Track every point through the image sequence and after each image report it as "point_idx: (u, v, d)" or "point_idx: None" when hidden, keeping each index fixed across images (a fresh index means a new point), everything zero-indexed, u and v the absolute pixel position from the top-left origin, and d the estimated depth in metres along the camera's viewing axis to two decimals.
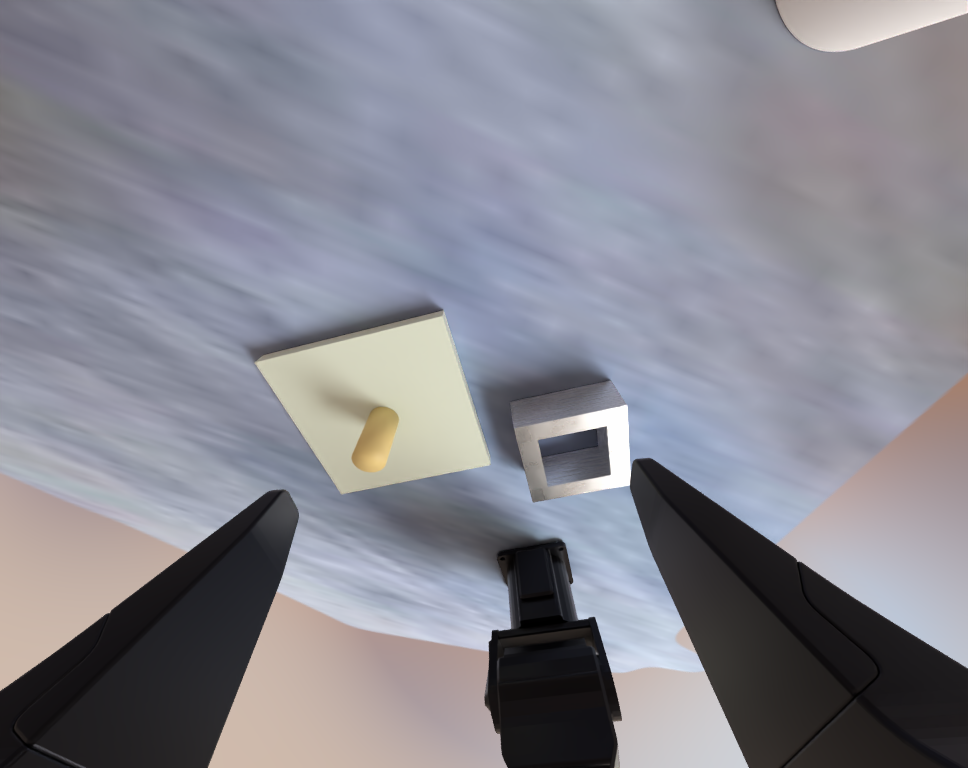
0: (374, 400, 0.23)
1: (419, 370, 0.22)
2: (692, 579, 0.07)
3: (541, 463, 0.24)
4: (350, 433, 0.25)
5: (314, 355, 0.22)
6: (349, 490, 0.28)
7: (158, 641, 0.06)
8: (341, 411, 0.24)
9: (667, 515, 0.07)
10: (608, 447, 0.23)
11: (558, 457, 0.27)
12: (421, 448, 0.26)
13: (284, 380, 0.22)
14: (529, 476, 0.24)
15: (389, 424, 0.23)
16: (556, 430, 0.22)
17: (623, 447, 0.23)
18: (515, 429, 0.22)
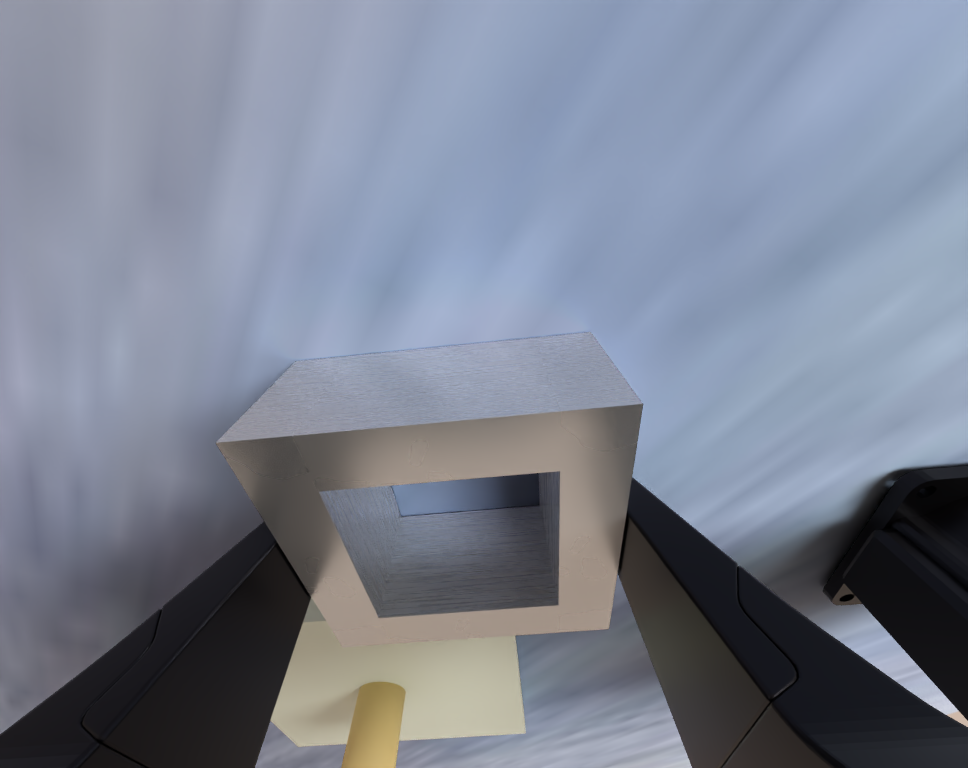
0: (347, 694, 0.16)
1: None
2: (643, 583, 0.07)
3: (463, 613, 0.09)
4: (408, 715, 0.17)
5: (279, 719, 0.17)
6: (520, 728, 0.18)
7: (212, 637, 0.06)
8: None
9: None
10: None
11: (540, 485, 0.10)
12: (449, 670, 0.15)
13: (321, 737, 0.18)
14: (506, 632, 0.09)
15: (355, 730, 0.14)
16: (344, 589, 0.08)
17: (421, 441, 0.06)
18: (344, 645, 0.09)
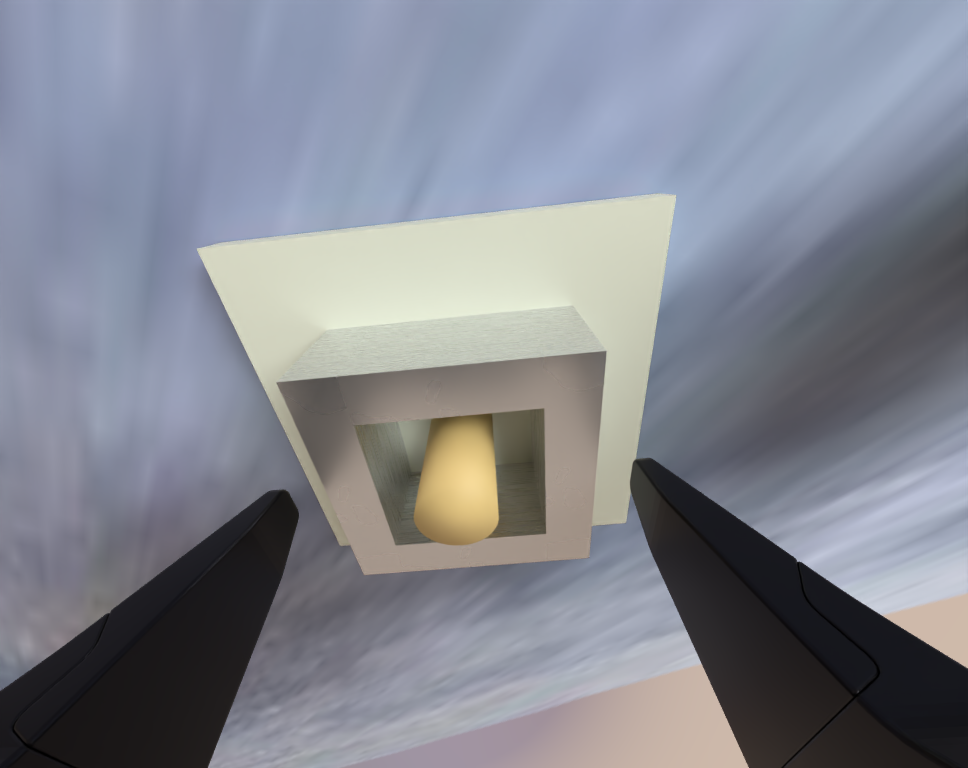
0: (416, 423, 0.12)
1: (343, 327, 0.10)
2: (692, 579, 0.07)
3: None
4: None
5: None
6: (622, 510, 0.14)
7: (158, 641, 0.06)
8: None
9: (667, 515, 0.07)
10: (436, 414, 0.08)
11: (532, 440, 0.12)
12: None
13: None
14: (502, 560, 0.11)
15: (439, 425, 0.10)
16: (368, 517, 0.10)
17: (435, 381, 0.08)
18: (365, 573, 0.11)
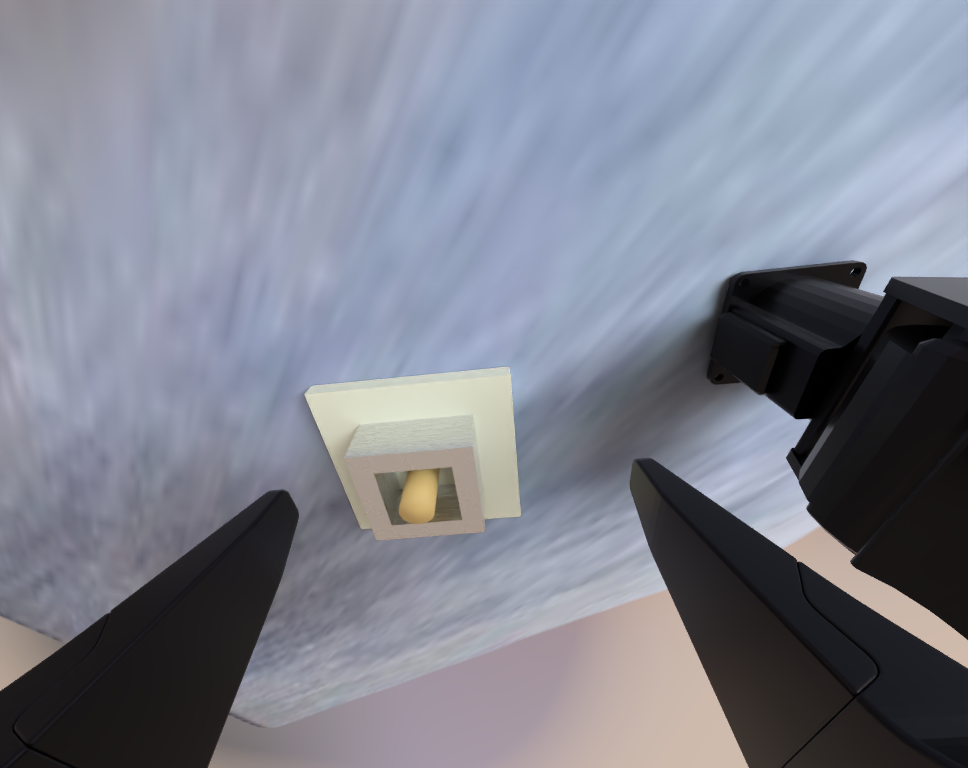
0: None
1: (367, 423, 0.22)
2: (692, 579, 0.07)
3: (425, 523, 0.22)
4: None
5: (353, 493, 0.25)
6: (517, 509, 0.26)
7: (158, 641, 0.06)
8: None
9: (667, 515, 0.07)
10: (408, 468, 0.20)
11: None
12: None
13: None
14: (443, 533, 0.22)
15: None
16: (379, 512, 0.21)
17: (406, 457, 0.19)
18: (377, 539, 0.23)
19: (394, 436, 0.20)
